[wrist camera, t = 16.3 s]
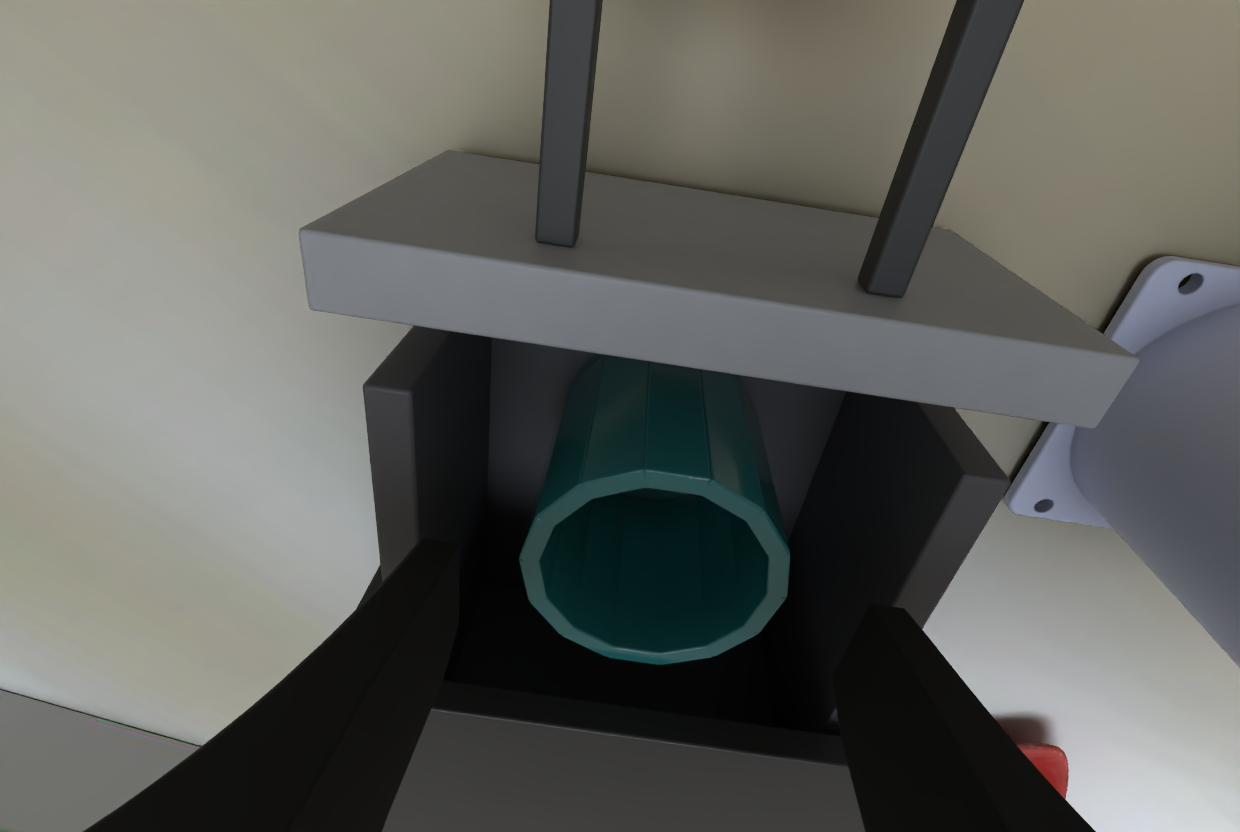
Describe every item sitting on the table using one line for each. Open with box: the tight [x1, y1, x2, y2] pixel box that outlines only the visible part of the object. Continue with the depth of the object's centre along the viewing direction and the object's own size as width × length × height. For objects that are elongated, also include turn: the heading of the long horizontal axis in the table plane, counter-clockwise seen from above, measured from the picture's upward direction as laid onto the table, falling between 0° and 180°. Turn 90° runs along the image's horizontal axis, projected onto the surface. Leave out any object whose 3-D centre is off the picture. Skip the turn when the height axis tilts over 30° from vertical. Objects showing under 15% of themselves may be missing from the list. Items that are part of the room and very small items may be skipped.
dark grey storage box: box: [357, 564, 865, 832], centre depth 20 cm, size 14×13×8 cm
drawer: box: [299, 0, 1139, 736], centre depth 13 cm, size 19×12×7 cm, turn 172°
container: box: [519, 354, 791, 665], centre depth 14 cm, size 5×5×6 cm
